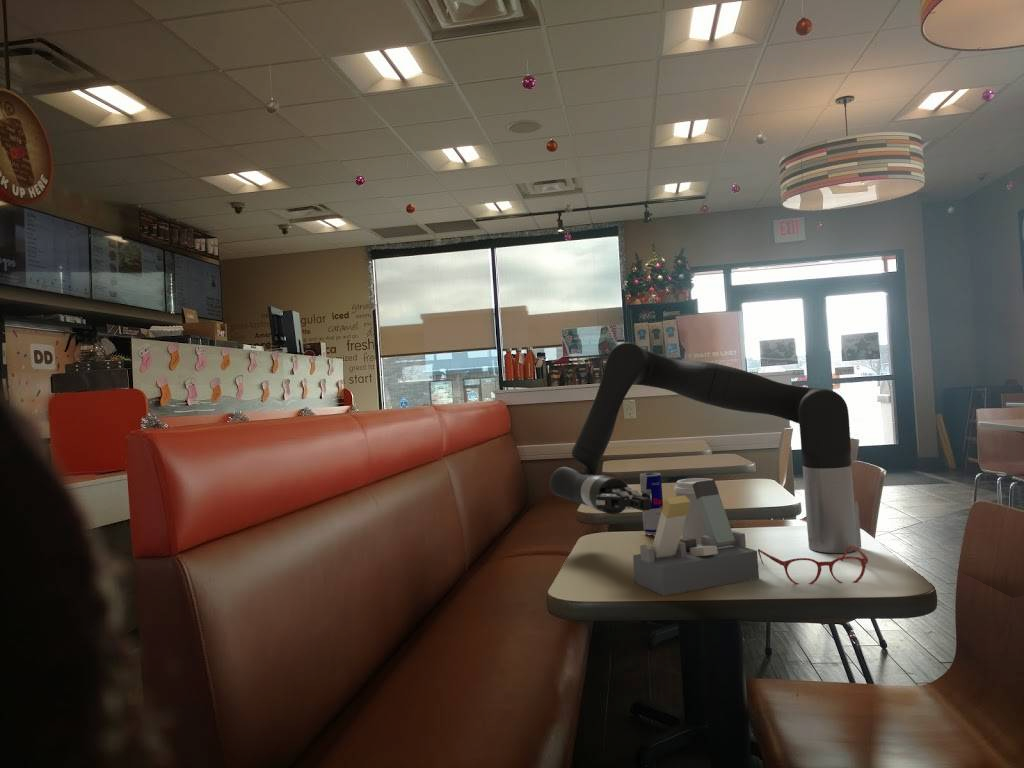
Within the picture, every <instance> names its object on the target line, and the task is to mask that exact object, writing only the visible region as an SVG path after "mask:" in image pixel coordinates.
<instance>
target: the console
mask: <svg viewBox="0 0 1024 768" xmlns="http://www.w3.org/2000/svg"><path fill="white" fill-rule="evenodd" d="M732 533H733V536H734V538H735V539H736V545H731V546H725V547H719V548H717V546H716V543H715V538H713V537H709V536H706V535H705V536H701V544H700V545H697V542H696V539H695V538H683V537H682V538H681V537H680V540H679V543H678V547H677V554H676V555H671V556H665V557H659V558H654V548H652V547H651V546H649V545H646V544H643V545H639V548H640V549H639V551H640V554H639V553H638V554H633V555H632V559H633V560H632V562H633V573H634V583H636V584H638V585H640V586H642V587H643V588H646V589H649V590H650V591H652V590H653V592H655V593H657V594H658V595H660V596H663V597H665V596H671V595H678V594H681V593H688V592H692V591H699V590H703V589H708V588H713V587H718V586H719V587H720V586H725V585H730V584H735V583H740V582H746V581H747V582H748V581H751V580H756V579H759V578H760V576H759V575H760V574H759V573H760V572H759V571H760V570H759V559H758V558H759V557H758V550H756V549H752V548H750V547H747V545H746V543H747V541H746V533H744V532H740V531H736V530H732ZM687 591H688V592H687Z"/></svg>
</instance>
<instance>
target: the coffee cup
mask: <svg viewBox="0 0 1024 768" xmlns="http://www.w3.org/2000/svg"><path fill="white" fill-rule="evenodd" d="M707 480H714V479H713V478H706V477H705V478H702V477H697V478H696V477H692V478H684V479H678V480H677V481H676V482H675V486H674V488H673V492H674V493H675V495H676V496H675V497H677V496H684V495H685V496H686V497H687V498H688V500H689V501H690V505H689V508H688V512H687V515H686V519H685V522H684V526H683V529H682V533H681V535H682V538H695V539H696V542H697V545H700V544H701V536H705V535H706V536H709V535H708V532H707V529H706V526H705V523H704V520H703V517H702V513H701V510H700V507H699V504H698V501H697V498H696V495H695V492H694V489H693V486H692V485H693V484H694V483H696V482H700V481H707ZM716 486H717V489H718V491H719V487H718V485H717V484H716Z"/></svg>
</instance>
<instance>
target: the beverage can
mask: <svg viewBox="0 0 1024 768" xmlns="http://www.w3.org/2000/svg"><path fill="white" fill-rule="evenodd" d="M661 475H662V474H661V472H645V473H644V472H643V473H640V474H639V482H640V484H639V485H640V493H642V491H645V490H647V489H650V490H651V495H652V502H651V509H650V510H646V511H642V510H641V512H642V524H643V532H644V533H645V535H647V534H651V535H656V531H657V527H658V523H659V519H660V516H661V512H662V508H663V504H664V499H663V486H662V484H663V483H662V476H661Z"/></svg>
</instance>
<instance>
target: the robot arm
mask: <svg viewBox="0 0 1024 768" xmlns="http://www.w3.org/2000/svg"><path fill="white" fill-rule="evenodd" d="M603 369H604V370H603V374H602V377H601V380H600V384H599V387H598V390H597V392H596V395H595V398H594V401H593V403H592V406H591V408H590V410H589V413H588V415H587V417H586V419H585V421H584V423H583V426H582V428H581V430H580V432H579V434H578V436H577V438H576V440H575V442H574V445H573V447H572V450H571V457H572V458H573V459H574V460H576V461H577V462H578V463H580V464H581V465H582V466H583V467H582V468H583V469H582V471H579V470H576V469H574V468H571V467H567V466H562V467H558V468H556V470H554V471H553V472H552V474H551V476H550V479H549V487H550V490H551V491H552V493H553V494H554V495H555V496H557V497H560V498H562V499H565V500H568V501H571V502H573V503H577V504H580V505H585V506H587V507H590V508H591V509H593V510H597V511H599V512H602V513H605V514H608V515H617V514H620V513H622V512H624V511H625V510H639V511H641V512H642V511H646V510H650V509H651V502H652V495H651V490H650V489H647V490H645V491H642V493H641V492H640V493H639V491H638V490H636V489H632V487H629V486H628V484H627V483H626V482H625V481H624V480H623V479H620V478H618V477H613V476H609V475H603V474H599V473H598V472H599V468H600V463H601V461H602V459H603V456H604V454H605V452H606V449H607V447H608V445H609V443H610V440H611V438H612V435H613V432H614V429H615V425H616V422H617V418H618V415H619V412H620V409H621V406H622V404H623V402H624V399H625V398H626V395H627V394H628V392H629V391H630V390H631V387H633V385H637V386H645V387H651V388H658V389H663V390H666V391H670V392H673V393H675V394H678V395H679V396H682V397H685V398H688V399H691V400H693V401H697V402H700V403H703V404H706V405H710V406H713V407H718V408H721V409H726V410H730V411H731V410H732V411H736V412H737V411H738V412H744V413H751V414H752V413H753V414H762V415H763V414H764V415H769V416H774V417H778V418H782V419H784V420H787V421H790V422H793V423H796V424H798V426H799V434H800V451H801V452H800V453H801V461H802V462H801V463H802V474H803V475H802V476H803V477H802V478H803V490H804V500H805V501H804V502H805V517H806V526H807V527H806V528H807V530H806V531H807V538H808V548H809V550H812V551H815V552H820V553H827V554H844V553H845V551H846V550H847V548H848V547H850V546H855V547H857V548H858V549H861V548H862V536H861V524H860V512H859V511H860V509H859V503H858V501H857V500H855V498H854V497H855V495H854V484H853V483H854V482H853V473H852V472H853V471H852V457H851V455H852V454H851V453H852V445H851V444H852V443H851V431H850V430H851V429H850V416H849V409H848V404H847V402H846V400H845V399H844V398H843V396H841V395H840V394H839V393H837V392H836V391H833V390H831V389H827V388H815V387H807V386H800V385H792V384H787V383H782V382H778V381H775V380H772V379H769V378H766V377H764V376H762V375H759V374H755V373H753V372H749V371H747V370H743V369H740V368H737V367H733V366H730V365H729V366H727V365H724V364H718V363H714V362H710V361H709V362H707V361H701V360H686V359H685V360H684V359H683V360H682V359H676V358H670V357H667V356H663V355H661V354H657V353H655V352H652V351H649V350H646V349H644V348H642V347H641V346H639V345H637V344H636V343H633V342H628V341H626V342H621V343H619V344H618V343H617V344H616V345H615V346H614V347H612V348H611V350H610V351H609V352H608V355H607V357H606V362H605V364H604V368H603ZM855 551H857V550H856V549H855V548H850V549H849V550H848V551H847V553H852V552H853V553H854V552H855Z"/></svg>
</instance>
